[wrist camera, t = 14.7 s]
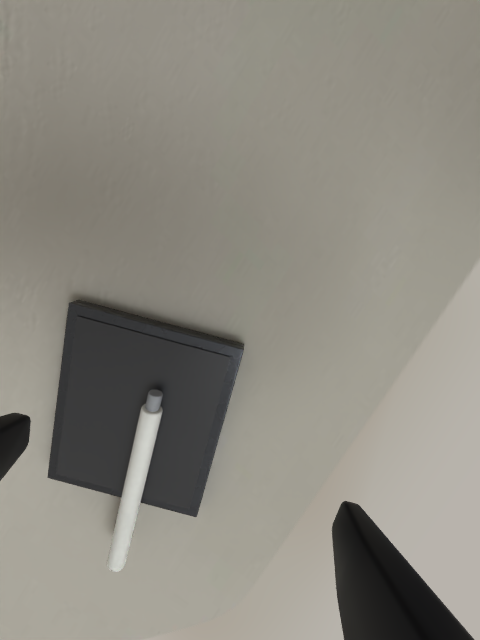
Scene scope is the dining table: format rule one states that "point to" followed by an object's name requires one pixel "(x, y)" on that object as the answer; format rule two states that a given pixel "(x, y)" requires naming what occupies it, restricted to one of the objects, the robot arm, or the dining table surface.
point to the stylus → (135, 480)
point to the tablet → (139, 403)
